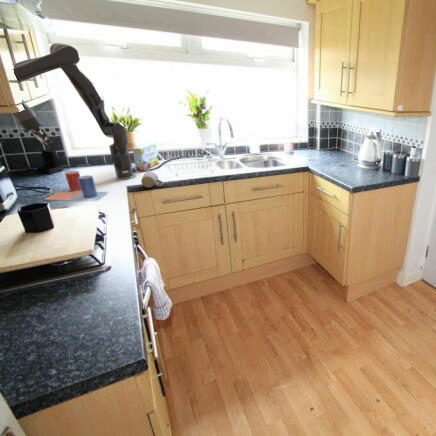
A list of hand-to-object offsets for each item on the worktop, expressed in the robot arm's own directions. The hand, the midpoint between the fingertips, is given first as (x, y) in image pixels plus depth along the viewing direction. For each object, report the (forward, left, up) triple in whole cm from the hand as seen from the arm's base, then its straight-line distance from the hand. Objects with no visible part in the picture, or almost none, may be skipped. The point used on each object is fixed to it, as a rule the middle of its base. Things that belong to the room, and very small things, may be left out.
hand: (53, 149), depth 156 cm
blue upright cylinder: (+2, +12, -23) cm, 26 cm away
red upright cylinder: (-9, 0, -24) cm, 26 cm away
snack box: (-58, +20, -24) cm, 66 cm away
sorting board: (+1, +5, -24) cm, 25 cm away
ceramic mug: (-15, +37, -24) cm, 47 cm away
